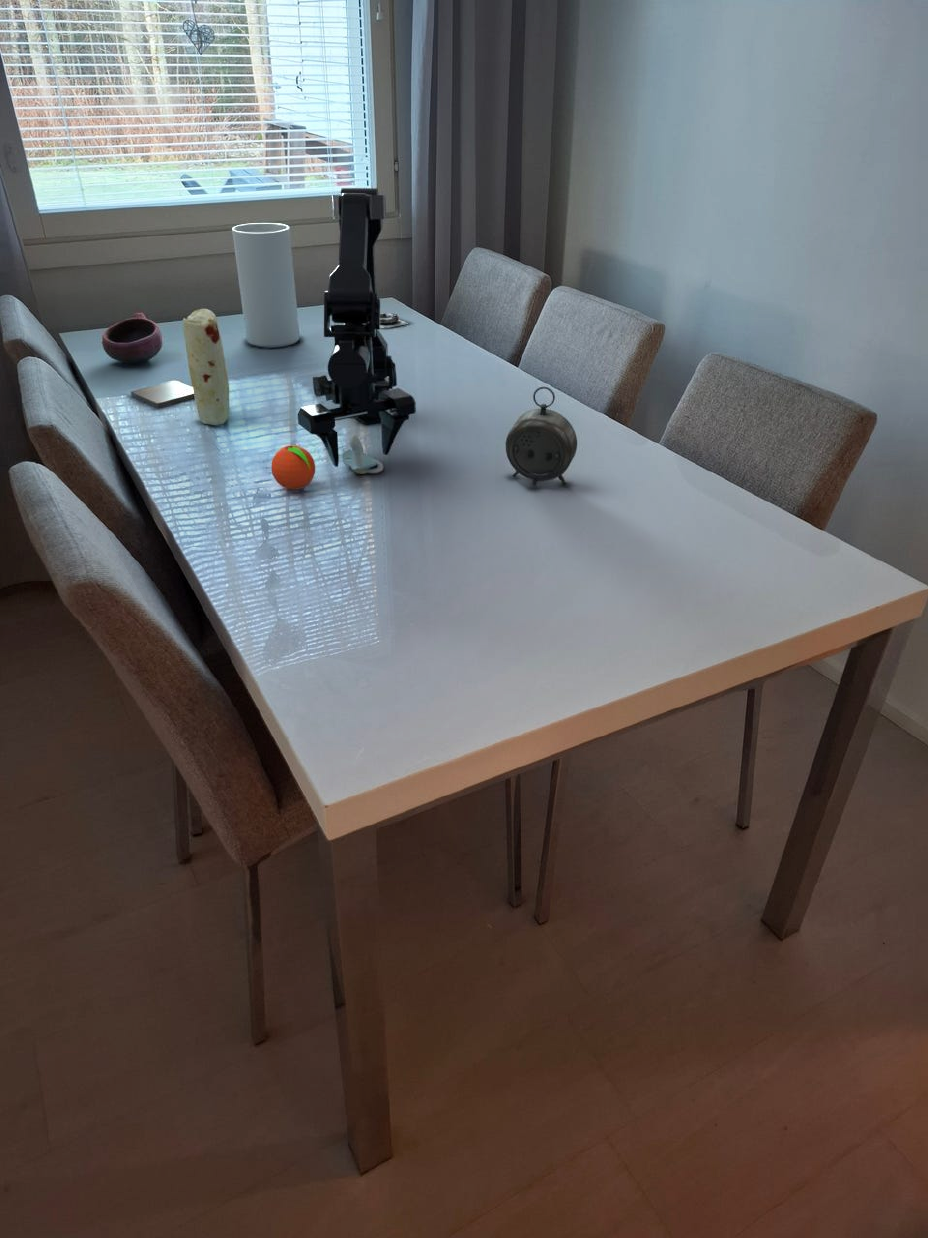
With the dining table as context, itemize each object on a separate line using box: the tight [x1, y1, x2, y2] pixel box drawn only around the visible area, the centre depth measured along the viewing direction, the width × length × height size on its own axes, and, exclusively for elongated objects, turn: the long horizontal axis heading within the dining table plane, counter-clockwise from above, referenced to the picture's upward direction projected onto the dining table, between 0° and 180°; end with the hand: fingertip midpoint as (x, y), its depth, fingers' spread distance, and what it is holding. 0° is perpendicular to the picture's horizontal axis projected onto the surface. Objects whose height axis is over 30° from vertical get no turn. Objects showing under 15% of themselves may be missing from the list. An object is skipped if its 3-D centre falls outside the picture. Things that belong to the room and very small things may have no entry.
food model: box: [182, 308, 231, 426], centre depth 159 cm, size 10×7×20 cm
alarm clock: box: [505, 385, 578, 490], centre depth 137 cm, size 11×5×16 cm, turn 71°
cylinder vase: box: [231, 222, 301, 349], centre depth 200 cm, size 12×12×25 cm
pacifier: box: [341, 434, 384, 475], centre depth 144 cm, size 7×6×6 cm
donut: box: [380, 312, 409, 329], centre depth 220 cm, size 8×8×2 cm
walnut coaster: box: [130, 379, 195, 409], centre depth 175 cm, size 10×10×1 cm
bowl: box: [101, 312, 164, 364], centre depth 193 cm, size 16×13×8 cm
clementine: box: [270, 444, 316, 491], centre depth 137 cm, size 8×7×7 cm
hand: (360, 459), depth 144 cm, fingers open, 9 cm apart
